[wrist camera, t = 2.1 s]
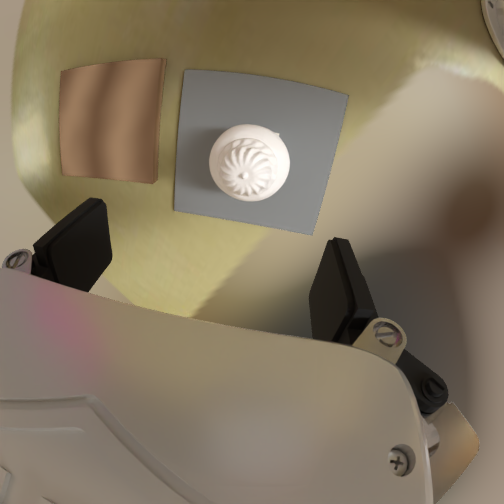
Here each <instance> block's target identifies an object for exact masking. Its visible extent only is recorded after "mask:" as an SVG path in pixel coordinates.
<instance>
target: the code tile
mask: <svg viewBox="0 0 504 504" xmlns="http://www.w3.org/2000/svg"><path fill="white" fill-rule="evenodd" d="M348 97H349V95H346V94H343V93H339V92H336V91H332V90H328V89H324V88H320V87H316V86H312V85H308V84H303V83H298V82H294V81H288V80H283V79H278V78H272V77H265V76H259V75H251V74H243V73H234V72H224V71H210V70H189V69H185V73H184V81H183V89H182V98H181V107H180V118H179V129H178V142H177V157H176V175H175V204H174V211H178V212H184V213H191V214H197V215H203V216H208V217H214V218H220V219H226V220H232V221H237V222H243V223H248V224H254V225H259V226H265V227H270V228H276V229H281V230H287V231H292V232H297V233H302V234H307V235H313V231H314V228H315V225H316V221H317V218H318V215H319V211H320V208H321V204H322V201H323V197H324V194H325V190H326V186H327V182H328V179H329V175H330V171H331V168H332V164H333V160H334V156H335V152H336V148H337V144H338V140H339V136H340V132H341V128H342V123H343V119H344V115H345V110H346V106H347V101H348ZM242 124H251V125H258V126H262V127H265V128H267V129H269V130H271V131H272V132H274V133H275V134H277V135H278V136H279V137H280V138H281V140H282V141H283V142H284V144H285V146H286V148H287V150H288V153H289V158H290V169H289V173H288V176H287V178H286V180H285V182H284V184H283V185H282V186H281V188H280V189H279V190H278V191H277V192H276V193H274V194H273V195H272V196H270V197H268V198H266V199H263V200H260V201H242V200H238V199H236V198H233V197H231V196H229V195H228V194H226V193H225V192H224V191H222V190H221V189H220V188H219V187H218V186H217V184H216V183H215V181H214V180H213V178H212V175H211V172H210V167H209V158H210V153H211V150H212V147H213V145H214V143H215V142H216V141H217V139H218V138H219V137H220V136H221V135H222V134H223V133H224V132H225V131H226V130H228V129H229V128H231V127H234V126H237V125H242Z"/></svg>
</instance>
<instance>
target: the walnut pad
mask: <svg viewBox="0 0 504 504" xmlns="http://www.w3.org/2000/svg"><path fill="white" fill-rule="evenodd" d="M166 60H167V59H162V58H158V59H139V60H127V61H118V62H109V63H102V64H95V65H89V66H84V67H78V68H73V69H68V70H64V71H61V79H60V100H59V130H60V151H61V164H62V175H67V176H80V177H92V178H103V179H113V180H123V181H132V182H140V183H149V184H153V183H155V182H156V181H157V180H158V150H159V131H160V116H161V104H162V93H163V84H164V75H165V67H166Z"/></svg>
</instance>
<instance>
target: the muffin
mask: <svg viewBox="0 0 504 504" xmlns="http://www.w3.org/2000/svg"><path fill="white" fill-rule="evenodd" d="M209 167H210V172H211V175H212V178H213V180H214V181H215V183H216V184H217V186H218V187H219V188H220V189H221V190H222V191H224V192H225V193H226V194H228V195H229V196H231V197H233V198H236V199H238V200H242V201H260V200H263V199H266V198H268V197H270V196H272V195H273V194H274V193H276V192H277V191H278V190H279V189H280V188H281V186H282V185H283V184H284V182H285V180H286V178H287V176H288V173H289V169H290V158H289V153H288V150H287V148H286V146H285V144H284V142H283V141H282V140H281V138H280V137H279V136H278V135H277V134H275V133H274V132H272V131H271V130H269V129H267V128H265V127H262V126H258V125H251V124H242V125H237V126H234V127H231V128H229V129H228V130H226V131H225V132H224V133H223V134H222V135H221V136H220V137H219V138H218V139H217V141H216V142H215V143H214V145H213V147H212V150H211V153H210V158H209Z"/></svg>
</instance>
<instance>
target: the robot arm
mask: <svg viewBox="0 0 504 504" xmlns="http://www.w3.org/2000/svg"><path fill="white" fill-rule="evenodd" d="M481 6H482V12H483V16H484V19H485V23H486V25H487V28H488V31H489V33H490V35H491V38H492V40H493V42H494V44H495V46H496V47H497V49H498V51H499V53H500V54H501V56H502V57H503V59H504V0H481ZM33 247H34V250H35V253H34V254H33V255H32V252H31V251H30V250H28V249H20V250H17V251H14V252H12V253H11V254H9V255H8V256H7V257H6V258H5V260H4V261H3V264H2V268H0V504H436V503H437V502H438V501H439V500H440V499H441V498H442V496H443V495H444V494H445V493H446V492H447V491H448V490H449V489H450V488H451V487H452V485H453V484H454V483H455V482H456V481H457V479H458V478H459V477H460V476H461V475H462V473H463V472H464V471H465V470H466V468H467V467H468V466H469V464H470V463H471V462H472V460H473V459H474V458H475V456H476V455H477V453H478V451H479V446H480V444H479V438H478V436H477V434H476V433H475V431H474V430H473V428H472V427H471V426H470V424H469V423H468V422H467V420H466V419H465V417H464V416H463V415H462V414H461V412H460V411H459V409H458V408H457V407H456V405H455V404H454V403H453V402H451V403H450V404H449V403H448V401H447V399H448V389H447V386H446V384H445V382H444V381H443V379H441V378H440V377H439V376H438V375H437V374H436V373H434V372H433V371H432V370H431V369H429V368H428V367H427V366H426V365H424V364H423V363H421V362H420V361H419V360H418V359H416V358H415V357H414V356H412V355H411V354H410V353H409V352H408V351H406V350H405V349H404V348H405V346H406V342H407V341H406V335H405V333H404V331H403V330H402V329H401V327H400V326H399V325H398V324H396V323H395V322H393V321H391V320H389V319H385V318H378V315H377V312H376V309H375V306H374V303H373V300H372V297H371V294H370V292H369V289H368V286H367V284H366V281H365V278H364V276H363V275H362V273H361V271H360V268H359V266H358V263H357V260H356V258H355V255H354V253H353V250H352V248H351V245H350V243H349V241H348V240H346V239H341V238H336V237H334V238H333V240H328V242H327V245H326V248H325V251H324V253H323V256H322V259H321V262H320V265H319V268H318V271H317V274H316V276H315V279H314V282H313V284H312V287H311V290H310V294H309V305H310V316H311V325H312V337H313V339H310V338H303V337H297V336H290V335H282V334H275V333H269V332H262V331H256V330H249V329H244V328H238V327H233V326H227V325H221V324H217V323H211V322H206V321H201V320H196V319H191V318H186V317H182V316H177V315H173V314H168V313H164V312H159V311H155V310H151V309H147V308H143V307H139V306H135V305H131V304H127V303H123V302H119V301H115V300H112V299H108V298H105V297H101V296H98V295H94V294H91V293H88V292H89V290H90V289H91V288H92V286H93V285H94V284H95V282H96V281H97V280H98V278H99V277H100V276H101V274H102V273H103V272H104V270H105V269H106V268H107V267H108V265H109V264H110V263H111V261H112V249H111V242H110V234H109V226H108V217H107V207H106V204H105V203H104V202H103V200H102V199H98V198H89V199H87V200H86V201H85V202H83V203H82V204H81V205H79V206H78V207H77V208H76V209H74V210H73V211H72V212H71V213H69V214H68V215H67V216H66V217H64V218H63V219H62V220H61V221H60V222H58V223H57V224H56V225H55V226H54V227H52V228H51V229H50V230H49V231H48V232H47V233H46V234H44V235H43V236H42V237H41V238H40V239H39V240H38V241H37V242H36V243H34V244H33Z"/></svg>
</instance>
